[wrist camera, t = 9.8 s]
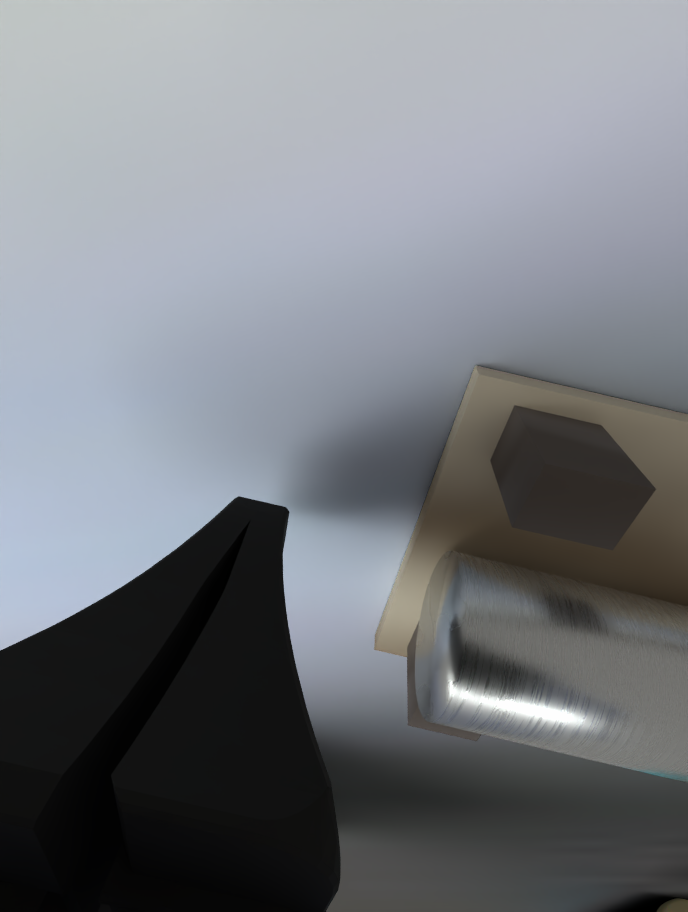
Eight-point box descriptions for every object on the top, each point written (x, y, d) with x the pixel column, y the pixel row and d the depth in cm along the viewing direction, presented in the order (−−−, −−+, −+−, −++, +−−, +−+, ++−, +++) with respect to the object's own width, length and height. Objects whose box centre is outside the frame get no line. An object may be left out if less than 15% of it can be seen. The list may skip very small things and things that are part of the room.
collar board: (765, 724, 15) (856, 857, 12) (375, 634, 15) (368, 744, 12) (1067, 502, 10) (1358, 636, 7) (475, 365, 10) (506, 440, 7)
